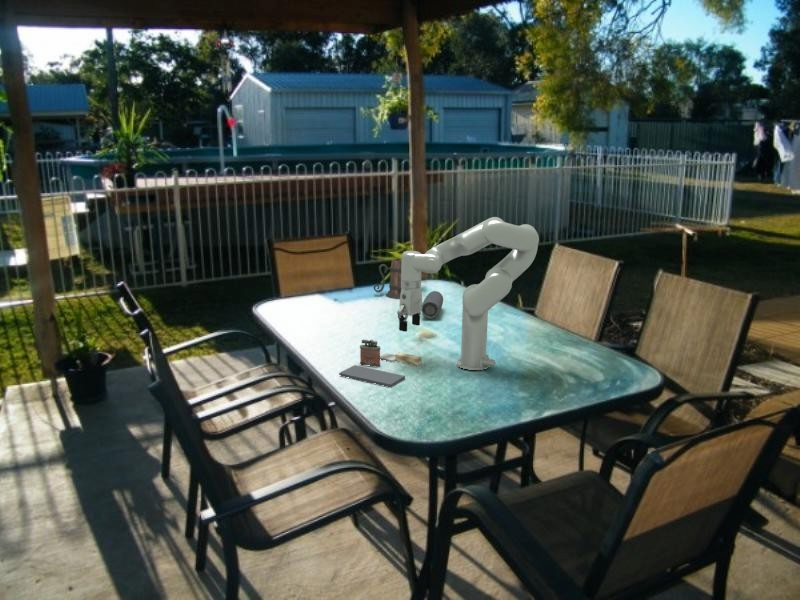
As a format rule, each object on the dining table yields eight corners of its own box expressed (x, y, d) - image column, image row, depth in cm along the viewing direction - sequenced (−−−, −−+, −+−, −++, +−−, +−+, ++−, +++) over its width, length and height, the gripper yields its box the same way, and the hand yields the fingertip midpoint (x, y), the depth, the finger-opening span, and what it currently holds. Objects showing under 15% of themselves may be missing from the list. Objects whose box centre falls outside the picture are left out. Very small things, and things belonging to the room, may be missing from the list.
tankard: (413, 291, 375) (413, 256, 370) (419, 298, 359) (419, 262, 354) (371, 293, 371) (371, 257, 366) (376, 300, 355) (376, 263, 350)
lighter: (381, 364, 257) (381, 339, 254) (378, 367, 254) (378, 342, 251) (361, 362, 259) (361, 337, 256) (358, 365, 256) (358, 340, 253)
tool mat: (405, 379, 242) (405, 375, 241) (390, 387, 233) (390, 384, 233) (354, 368, 253) (354, 365, 252) (339, 375, 244) (339, 372, 244)
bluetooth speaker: (439, 321, 316) (440, 301, 313) (420, 320, 317) (420, 300, 315) (444, 309, 338) (444, 290, 335) (425, 308, 339) (426, 289, 337)
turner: (423, 363, 259) (423, 355, 258) (415, 367, 254) (415, 360, 253) (386, 355, 268) (386, 348, 267) (377, 359, 263) (377, 352, 262)
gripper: (408, 289, 242) (406, 335, 246) (430, 281, 256) (429, 324, 261) (390, 286, 246) (389, 331, 250) (413, 278, 260) (412, 321, 264)
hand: (409, 327), depth 255 cm, fingers open, 9 cm apart
